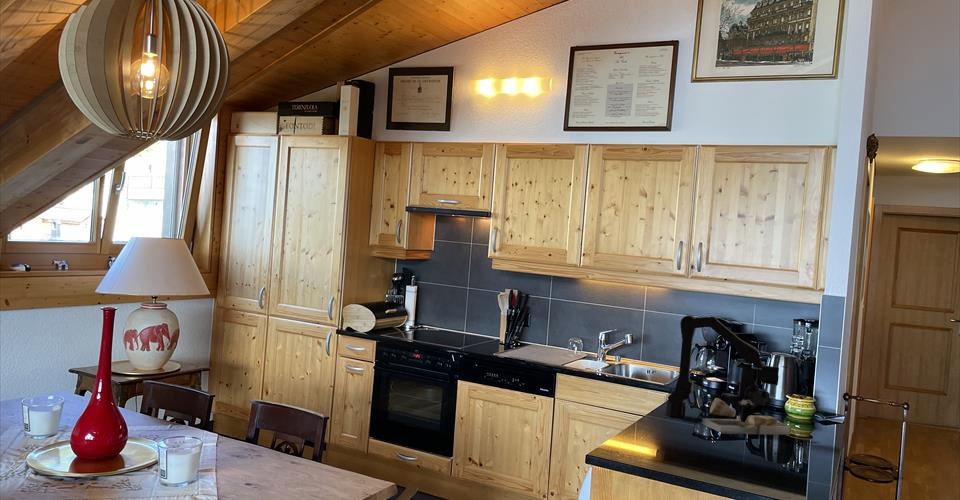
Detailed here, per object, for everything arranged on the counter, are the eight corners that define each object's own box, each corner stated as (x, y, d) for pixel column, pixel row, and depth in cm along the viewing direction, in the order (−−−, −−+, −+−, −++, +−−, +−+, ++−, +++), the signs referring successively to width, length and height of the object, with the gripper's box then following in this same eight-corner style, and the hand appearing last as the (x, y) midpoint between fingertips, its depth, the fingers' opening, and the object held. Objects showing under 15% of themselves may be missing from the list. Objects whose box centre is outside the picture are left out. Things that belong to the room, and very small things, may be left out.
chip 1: (756, 430, 281) (757, 418, 281) (748, 427, 285) (749, 415, 285) (766, 430, 282) (767, 418, 282) (758, 427, 286) (759, 415, 286)
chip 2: (766, 430, 282) (767, 418, 282) (758, 427, 286) (759, 415, 286) (775, 430, 284) (777, 419, 283) (767, 427, 288) (769, 415, 288)
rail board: (722, 435, 270) (723, 425, 270) (699, 424, 284) (700, 414, 283) (790, 436, 280) (791, 426, 280) (764, 425, 293) (765, 416, 293)
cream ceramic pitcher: (738, 421, 298) (729, 398, 297) (714, 427, 301) (705, 405, 300) (737, 412, 305) (728, 391, 304) (713, 419, 308) (705, 397, 307)
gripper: (741, 384, 270) (736, 427, 271) (783, 386, 277) (778, 428, 277) (722, 377, 281) (717, 419, 281) (763, 379, 287) (758, 420, 287)
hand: (743, 422), depth 282 cm, fingers closed
